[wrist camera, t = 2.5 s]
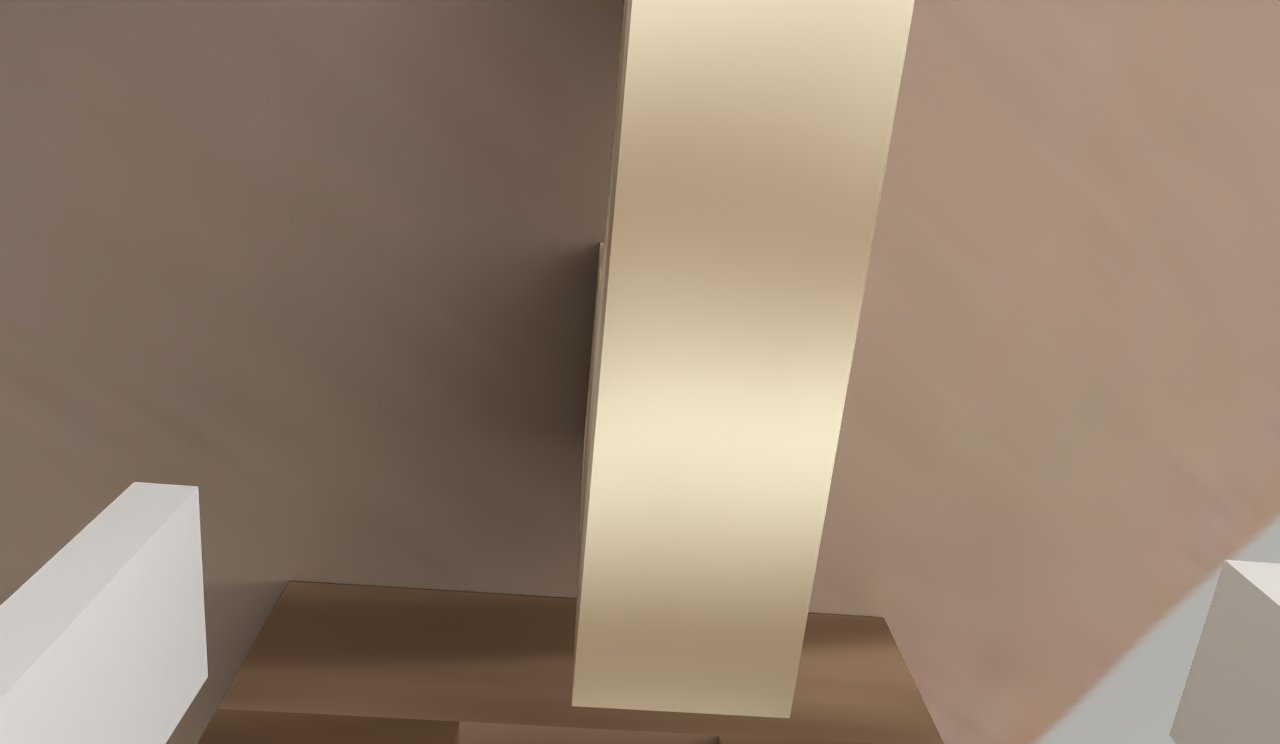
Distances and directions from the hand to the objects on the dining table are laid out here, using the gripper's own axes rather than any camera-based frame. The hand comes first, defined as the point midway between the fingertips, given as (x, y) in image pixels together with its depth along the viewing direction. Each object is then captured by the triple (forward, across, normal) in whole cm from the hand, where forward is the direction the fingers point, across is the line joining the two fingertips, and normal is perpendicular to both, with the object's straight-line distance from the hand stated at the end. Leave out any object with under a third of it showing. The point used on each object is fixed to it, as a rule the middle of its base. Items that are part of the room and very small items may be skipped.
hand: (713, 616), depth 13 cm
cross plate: (+9, 0, +5) cm, 11 cm away
